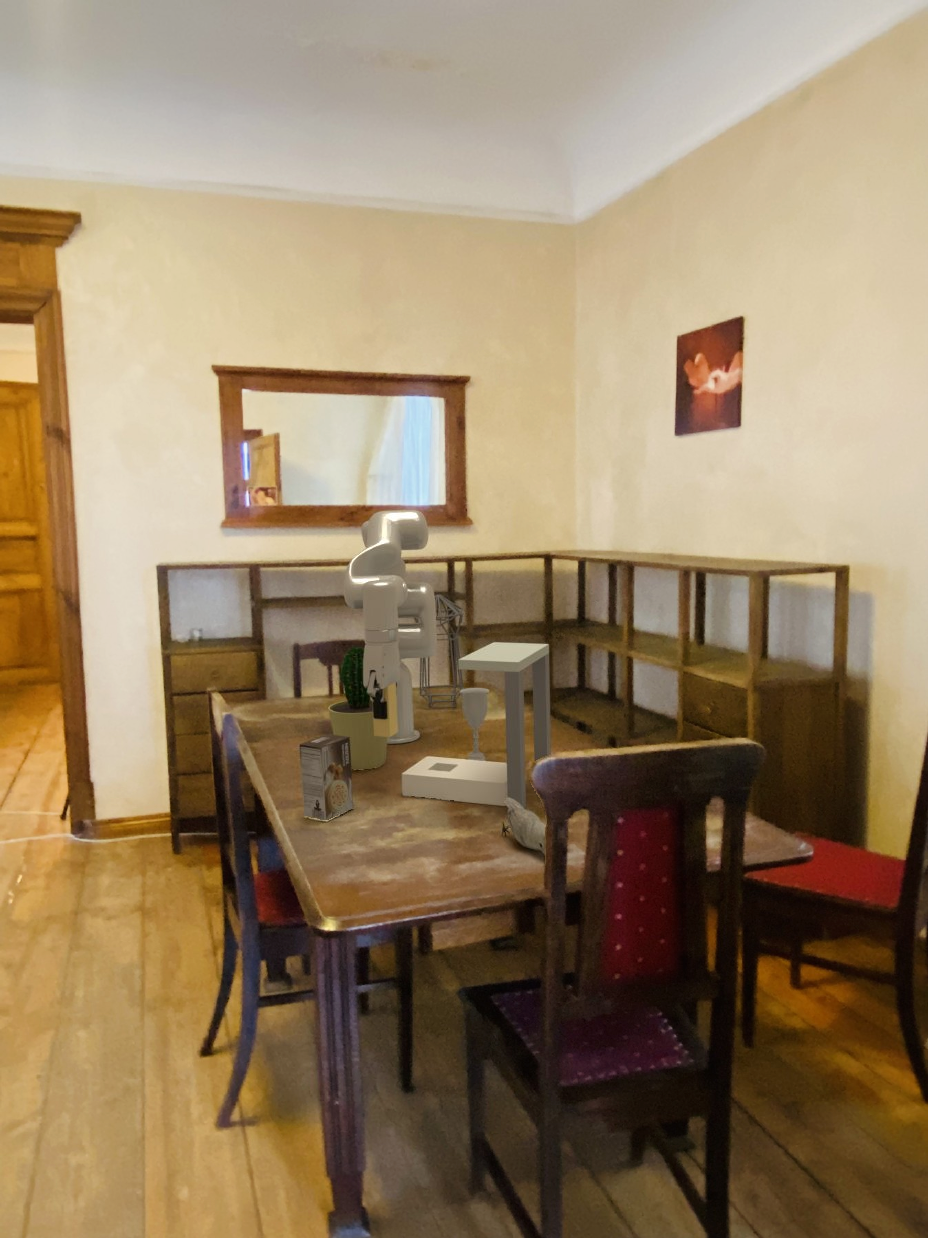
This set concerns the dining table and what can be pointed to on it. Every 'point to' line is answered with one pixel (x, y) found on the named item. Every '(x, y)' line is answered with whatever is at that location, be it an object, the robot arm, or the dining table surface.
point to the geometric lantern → (456, 649)
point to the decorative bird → (525, 826)
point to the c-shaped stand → (519, 703)
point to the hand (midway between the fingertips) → (385, 715)
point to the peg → (390, 724)
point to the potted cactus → (357, 715)
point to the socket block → (457, 780)
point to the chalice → (475, 714)
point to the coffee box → (326, 776)
